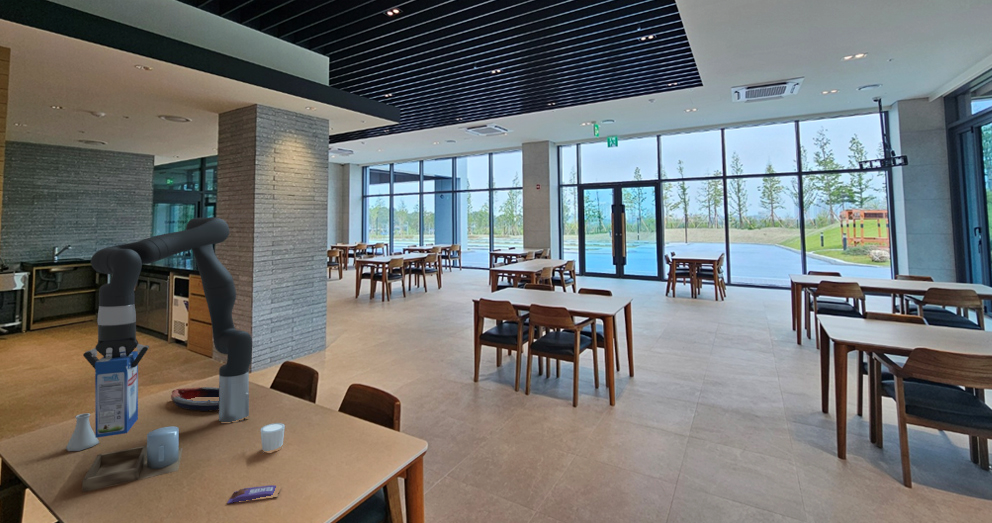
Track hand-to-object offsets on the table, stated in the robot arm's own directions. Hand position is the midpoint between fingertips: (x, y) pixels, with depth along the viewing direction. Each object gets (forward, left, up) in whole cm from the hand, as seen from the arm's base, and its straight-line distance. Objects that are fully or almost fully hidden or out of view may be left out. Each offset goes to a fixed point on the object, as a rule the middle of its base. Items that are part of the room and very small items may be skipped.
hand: (117, 383), depth 109 cm
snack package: (-31, +29, -27) cm, 50 cm away
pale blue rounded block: (-10, 0, -25) cm, 27 cm away
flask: (+13, -28, -26) cm, 41 cm away
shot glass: (-37, +4, -26) cm, 46 cm away
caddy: (-4, 0, -26) cm, 27 cm away
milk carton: (0, 0, -13) cm, 13 cm away
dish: (-17, -50, -27) cm, 59 cm away
